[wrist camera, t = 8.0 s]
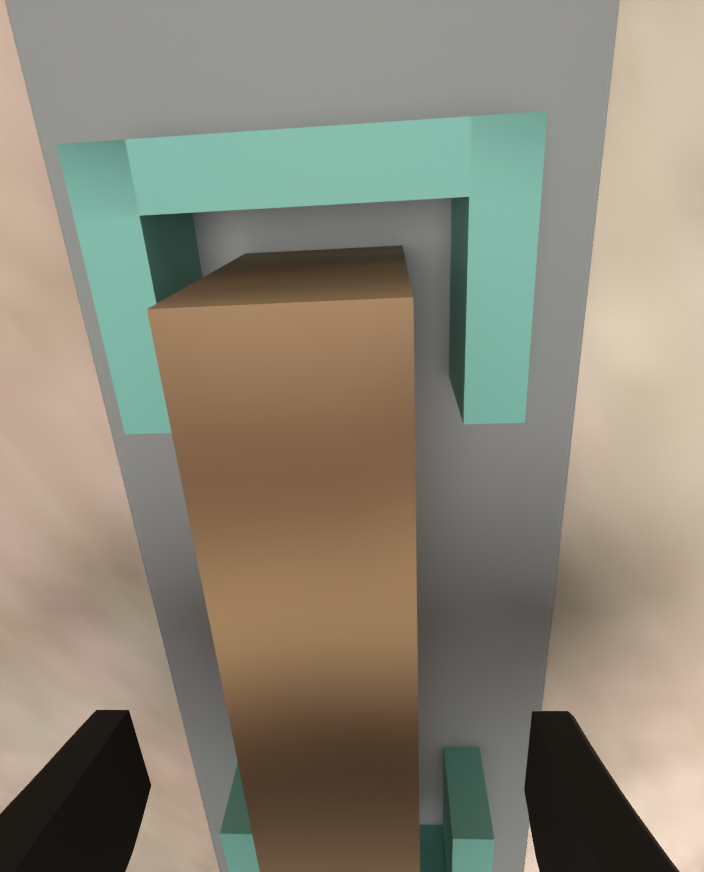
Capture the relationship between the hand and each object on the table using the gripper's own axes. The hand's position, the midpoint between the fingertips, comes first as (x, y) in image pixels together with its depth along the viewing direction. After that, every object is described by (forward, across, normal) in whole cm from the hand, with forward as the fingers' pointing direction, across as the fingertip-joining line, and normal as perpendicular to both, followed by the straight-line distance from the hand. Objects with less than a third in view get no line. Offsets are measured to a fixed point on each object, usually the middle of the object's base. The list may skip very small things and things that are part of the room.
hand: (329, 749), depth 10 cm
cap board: (+5, 0, 0) cm, 5 cm away
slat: (+4, 0, 0) cm, 4 cm away
